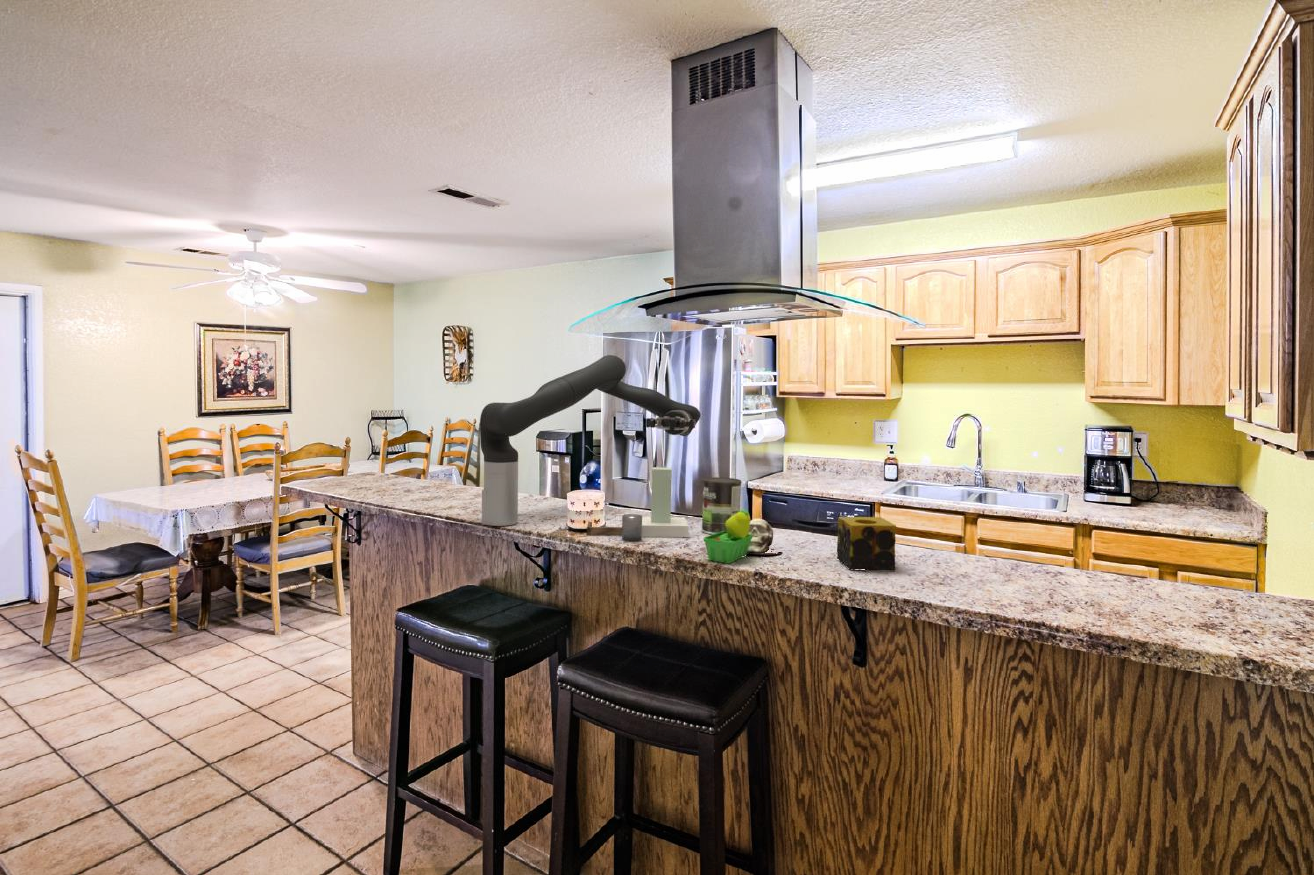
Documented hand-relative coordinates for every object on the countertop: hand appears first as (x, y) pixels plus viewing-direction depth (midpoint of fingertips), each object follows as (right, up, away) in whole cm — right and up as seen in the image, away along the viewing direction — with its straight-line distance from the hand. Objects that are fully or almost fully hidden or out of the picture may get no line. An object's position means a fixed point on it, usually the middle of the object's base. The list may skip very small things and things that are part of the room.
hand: (666, 424), depth 196 cm
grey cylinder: (-9, -29, -24) cm, 39 cm away
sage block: (-2, -26, -14) cm, 30 cm away
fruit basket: (+14, -31, -42) cm, 54 cm away
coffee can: (+15, -29, -12) cm, 35 cm away
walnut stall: (-15, -29, -14) cm, 35 cm away
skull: (+21, -31, -34) cm, 50 cm away
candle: (+43, -32, -45) cm, 70 cm away
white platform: (-1, -29, -14) cm, 32 cm away
